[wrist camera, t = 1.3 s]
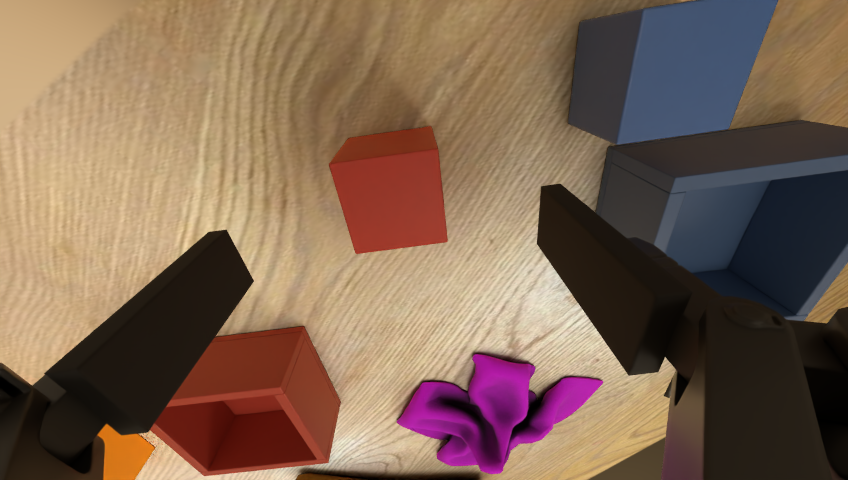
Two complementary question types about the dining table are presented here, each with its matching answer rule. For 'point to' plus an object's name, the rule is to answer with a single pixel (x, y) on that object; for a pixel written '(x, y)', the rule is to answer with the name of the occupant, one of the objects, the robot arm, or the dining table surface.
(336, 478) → the horn
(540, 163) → the dining table surface
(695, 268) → the blue bin
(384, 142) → the red block
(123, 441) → the orange juice
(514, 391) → the cloth
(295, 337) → the red bin
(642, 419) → the dining table surface
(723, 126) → the blue block
